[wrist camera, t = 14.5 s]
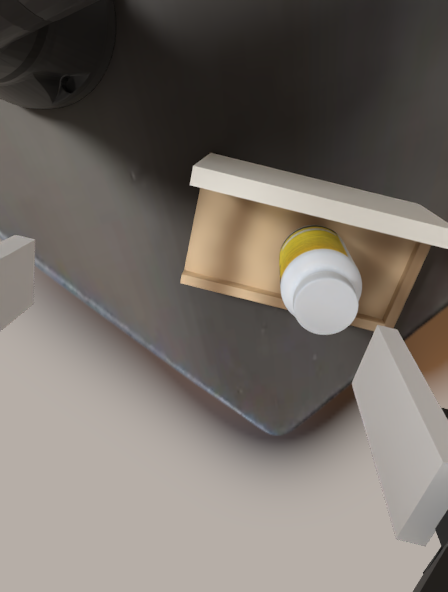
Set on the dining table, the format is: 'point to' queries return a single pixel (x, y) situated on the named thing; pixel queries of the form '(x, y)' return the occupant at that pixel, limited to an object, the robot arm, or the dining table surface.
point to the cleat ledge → (266, 248)
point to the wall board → (320, 199)
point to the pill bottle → (319, 280)
